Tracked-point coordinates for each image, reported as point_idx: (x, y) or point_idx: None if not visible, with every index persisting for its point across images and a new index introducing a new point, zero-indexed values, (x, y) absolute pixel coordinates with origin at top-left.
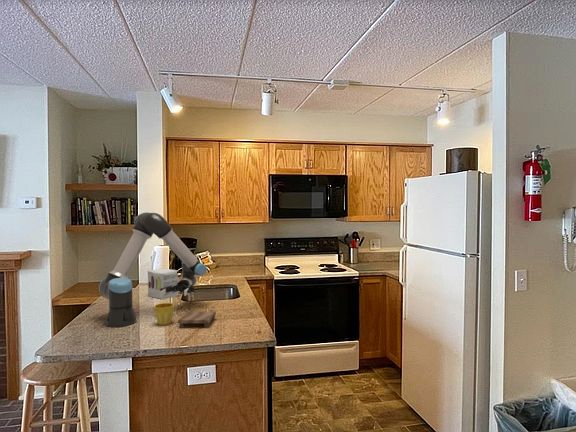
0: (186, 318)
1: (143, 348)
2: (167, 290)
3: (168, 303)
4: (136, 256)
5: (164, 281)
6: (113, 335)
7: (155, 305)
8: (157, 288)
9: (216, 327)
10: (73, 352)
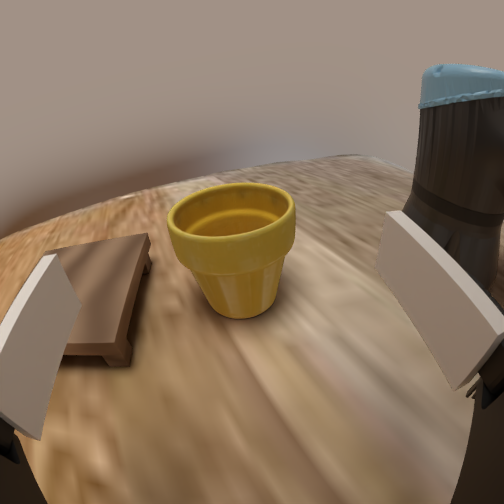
0: (114, 251)
1: (208, 178)
2: (491, 423)
3: (222, 237)
4: None
5: None
6: (341, 198)
7: (288, 199)
8: None
9: None
10: (332, 160)
